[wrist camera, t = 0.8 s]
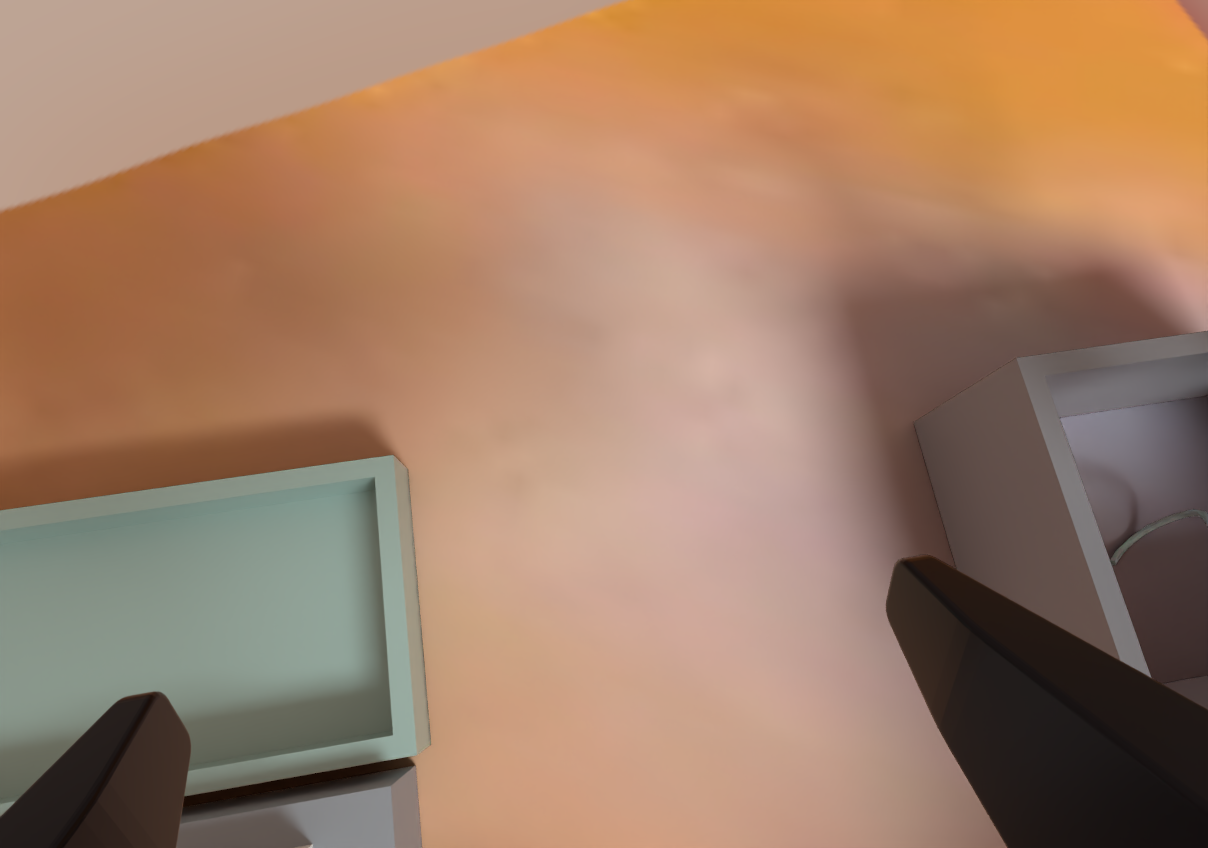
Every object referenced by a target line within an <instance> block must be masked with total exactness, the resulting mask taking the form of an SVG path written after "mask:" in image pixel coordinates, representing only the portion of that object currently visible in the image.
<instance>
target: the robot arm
mask: <svg viewBox="0 0 1208 848" xmlns="http://www.w3.org/2000/svg"><path fill="white" fill-rule="evenodd" d="M886 612H887V617H888V620H889V623H890V625H891V627H892V629H893V631H894V634H895V636H896V638H897V640H898V642H899V645H900V647H901V649H902V651H903V653H904V656H905V658H906V660H907V662H908V664H909V667H910V669H911V671H912V673H913V675H914V678H915V680H916V682H917V684H918V686H919V689H920V691H921V693H922V695H923V697H924V699H925V702H926V704H927V706H928V708H929V710H930V713H931V715H932V717H933V719H934V721H935V723H936V725H937V727H938V729H939V731H940V732H941V734H942V736H943V738H944V740H945V741H946V743H947V745H948V747H949V749H950V750H951V752H952V754H953V755H954V757H955V759H956V761H957V762H958V764H959V766H960V767H961V769H962V771H963V773H964V774H965V776H966V778H967V779H968V781H969V783H970V785H971V786H972V788H973V790H974V791H975V793H976V795H977V796H978V798H979V800H980V802H981V803H982V805H983V807H984V808H985V810H986V812H987V814H988V815H989V817H990V819H991V820H992V822H993V824H994V826H995V827H996V829H997V831H998V832H999V834H1000V836H1001V838H1002V839H1003V841H1004V843H1005V844H1006V846H1007V848H1208V709H1207V708H1205V707H1203V706H1201V705H1199V704H1198V703H1196V702H1194V701H1192V700H1190V699H1189V698H1187V697H1185V696H1183V695H1181V694H1180V693H1178V692H1176V691H1174V690H1172V689H1171V688H1169V687H1167V686H1165V685H1163V684H1162V683H1160V682H1158V681H1156V680H1154V679H1153V678H1151V677H1149V676H1147V675H1146V674H1144V673H1142V672H1140V671H1138V670H1137V669H1135V668H1133V667H1131V666H1129V665H1128V664H1126V663H1124V662H1122V661H1120V660H1119V659H1117V658H1115V657H1113V656H1111V655H1110V654H1108V653H1106V652H1104V651H1102V650H1101V649H1099V648H1097V647H1095V646H1093V645H1092V644H1090V643H1088V642H1086V641H1084V640H1083V639H1081V638H1079V637H1077V636H1075V635H1074V634H1072V633H1070V632H1068V631H1066V630H1065V629H1063V628H1061V627H1059V626H1057V625H1056V624H1054V623H1052V622H1050V621H1048V620H1047V619H1045V618H1043V617H1041V616H1039V615H1038V614H1036V613H1034V612H1032V611H1030V610H1029V609H1027V608H1025V607H1023V606H1021V605H1020V604H1018V603H1016V602H1014V601H1012V600H1011V599H1009V598H1007V597H1005V596H1003V595H1002V594H1000V593H998V592H996V591H994V590H993V589H991V588H989V587H987V586H985V585H984V584H982V583H980V582H978V581H977V580H975V579H973V578H971V577H969V576H968V575H966V574H964V573H962V572H960V571H959V570H957V569H955V568H953V567H951V566H950V565H948V564H946V563H944V562H942V561H941V560H939V559H937V558H935V557H933V556H930V555H918V556H913V557H907V558H902V559H899V560H898V561H897V562H896V564H895V565H894V569H893V573H892V578H891V582H890V587H889V591H888V596H887V600H886ZM190 757H191V740H190V736H189V733H188V731H187V729H186V727H185V726H184V724H183V722H182V721H181V719H180V717H179V716H178V714H177V712H176V711H175V709H174V707H173V706H172V704H171V703H170V701H169V699H168V698H167V696H166V695H165V694H163V693H161V692H159V691H153V692H147V693H142V694H136V695H131V696H126V697H123V698H121V699H120V700H118V701H117V702H115V703H114V704H113V705H112V706H111V707H110V708H109V709H108V710H107V711H106V712H105V713H104V714H103V715H102V716H101V717H100V718H99V719H98V720H97V721H96V722H95V723H94V724H93V725H92V726H91V727H90V728H89V729H88V730H87V731H86V732H85V733H84V734H83V735H82V736H81V737H80V738H79V739H78V740H77V741H76V742H75V743H74V744H73V745H72V746H71V747H70V748H69V749H68V750H67V751H66V752H65V753H64V754H63V755H62V756H61V757H60V758H59V759H58V760H57V761H56V762H55V763H54V764H53V765H52V766H51V767H50V768H49V769H48V770H47V771H46V772H45V773H44V774H43V775H42V776H41V777H40V778H38V779H37V780H36V781H35V782H34V783H33V784H32V785H31V786H30V787H29V788H28V789H27V790H26V791H25V792H24V793H23V794H22V795H21V796H20V797H19V798H18V799H17V800H16V801H15V802H14V803H13V804H12V805H11V806H10V807H9V808H8V809H7V810H6V811H5V812H4V813H3V814H2V815H1V816H0V848H176V847H177V841H178V834H179V828H180V821H181V815H182V808H183V802H184V795H185V789H186V783H187V776H188V770H189V763H190Z"/></svg>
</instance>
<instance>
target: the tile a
mask: <svg viewBox="0 0 1208 848" xmlns="http://www.w3.org/2000/svg"><path fill="white" fill-rule="evenodd" d="M295 848H313V844H311V845H306V846H301V847H295Z"/></svg>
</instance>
